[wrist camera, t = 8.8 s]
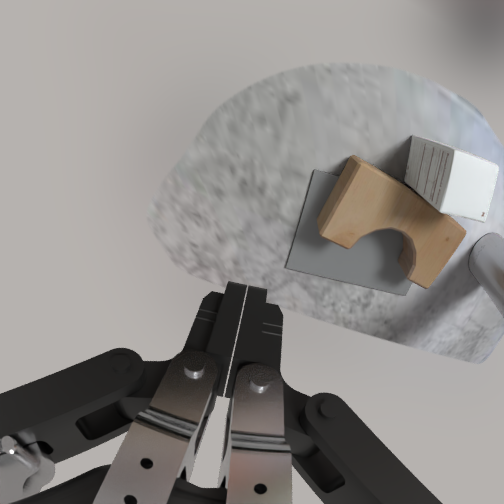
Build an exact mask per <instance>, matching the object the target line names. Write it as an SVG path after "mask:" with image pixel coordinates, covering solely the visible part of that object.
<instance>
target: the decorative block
mask: <svg viewBox="0 0 504 504" xmlns="http://www.w3.org/2000/svg"><path fill="white" fill-rule="evenodd" d="M317 224H318V229H319V234H320V237H322V238H324V239H326V240H328V241H330V242H333V243H335V244H337V245H339V246H341V247H343V248H345V249H351V248H352V247H353V246H354V245H355V244H356V243H357V242H358V241H359V239H360V238H361V237H363V236H365V235H368V234H370V233H372V232H374V231H377V230H384V229H393V230H396V231H399V232H402V235H403V250H402V252H401V254H400V256H399V259H398V262H399V264H400V266H401V268H402V270H403V272H404V274H405V276H406V278H407V279H408V280H409V281H411V282H413V283H415V284H417V285H419V286H421V287H423V288H425V289H427V288H429V286H430V285H431V284H432V282H433V281H434V280H435V278H436V277H437V276H438V274H439V273H440V272H441V270H442V269H443V267H444V266H445V265H446V263H447V262H448V260H449V259H450V258H451V256H452V255H453V253H454V252H455V250H456V249H457V247H458V246H459V244H460V243H461V241H462V240H463V238H464V237H465V235H466V230H465V229H464V228H463V227H462V226H460V225H459V224H458V223H457V222H456V221H455V220H454V219H453V218H452V217H450V216H449V215H447V214H445V213H441V212H439V211H438V210H437V209H436V208H435V207H433V206H432V205H431V204H430V203H429V202H428V201H427V200H425V199H424V198H423V197H422V196H421V195H419V194H418V193H416V192H415V191H413V190H412V189H410V188H408V187H407V186H405V185H404V184H402V183H401V182H399V181H397V180H396V179H394V178H393V177H391V176H389V175H388V174H386V173H384V172H383V171H381V170H379V169H378V168H376V167H374V166H373V165H371V164H369V163H367V162H366V161H364V160H362V159H360V158H359V157H357V156H355V155H352V156H350V158H349V160H348V162H347V164H346V165H345V167H344V169H343V171H342V173H341V175H340V177H339V179H338V181H337V182H336V184H335V186H334V188H333V190H332V192H331V194H330V196H329V197H328V199H327V201H326V203H325V205H324V207H323V208H322V210H321V212H320V214H319V216H318V217H317Z"/></svg>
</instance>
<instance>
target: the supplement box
mask: <svg viewBox="0 0 504 504" xmlns="http://www.w3.org/2000/svg"><path fill="white" fill-rule="evenodd" d="M498 170H499V166H498V165H496V164H494V163H492V162H490V161H488V160H486V159H484V158H481V157H479V156H477V155H474V154H472V153H469V152H467V151H464V150H461V149H459V148H456V147H453V146H450V145H447V144H444V143H440V142H437V141H434V140H430V139H426V138H423V137H419V136H415V135H412V140H411V146H410V152H409V158H408V163H407V168H406V174H405V179H404V182H405V183H406V184H407V185H409V186H410V187H411V188H413V189H414V190H415V191H416V192H417V193H418V194H420V195H421V196H422V197H423V198H424V199H425V200H427V201H428V202H429V203H430V204H431V205H432V206H433V207H435V208H436V209H437V210H438V211H439V212H441V213H445V214H449V215H454V216H458V217H462V218H466V219H471V220H475V221H479V222H483V223H484V222H485V220H486V217H487V214H488V210H489V207H490V203H491V200H492V196H493V192H494V188H495V184H496V179H497V175H498Z"/></svg>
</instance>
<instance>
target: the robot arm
mask: <svg viewBox="0 0 504 504" xmlns="http://www.w3.org/2000/svg"><path fill="white" fill-rule="evenodd" d="M469 268H470V271H471V273H472V274H473V275H474V276H475V278H476V279H477V280H478V282H479V283H480V284H481V286H482V287H483V289H484V290H485V291H486V293H487V294H488V295H489V297H490V298H491V299H492V301H493V302H494V304H495V305H496V307H497V308H498V310H499V311H500V312H501V314H502V315H503V317H504V238H503V237H501V236H500V235H499V234H497V233H489V234H487V235H485V236H483V237H482V238H481V239H480V240H479V241H478V242H477V243H476V245H475V246H474V248H473V250H472V252H471V255H470V259H469ZM246 288H247V285H244V284H239V283H235V282H230V281H228V284H227V287H226V290H225V293H224V294H223V293H218V292H213V291H212V292H210V293H209V294H208V295H207V296H206V297H205V298H203V300H202V303H201V305H200V308H199V310H198V313H197V315H196V318H195V320H194V323H193V326H192V328H191V331H190V333H189V336H188V338H187V341H186V343H185V346H184V348H183V350H182V351H181V352H180V353H178V354H177V355H176V356H175V357H174V358H172V359H170V360H166V361H143V360H142V358H141V357H140V356H139V354H137V353H136V352H134V351H133V350H130V349H127V348H116V349H112V350H110V351H107V352H105V353H103V354H100V355H98V356H96V357H93V358H91V359H88V360H86V361H83V362H81V363H78V364H76V365H74V366H71V367H69V368H66V369H64V370H61V371H59V372H56V373H54V374H51V375H48V376H46V377H44V378H41V379H38V380H36V381H33V382H30V383H28V384H25V385H23V386H20V387H17V388H15V389H12V390H9V391H7V392H4V393H1V394H0V504H292V465H293V467H294V468H295V469H296V470H297V472H298V473H299V474H300V475H301V477H302V478H303V479H304V480H305V481H306V483H307V484H308V485H309V486H310V487H311V489H312V490H313V491H314V492H315V494H316V495H317V496H318V497H319V498H320V499H321V501H322V502H323V503H324V504H442V503H441V502H440V501H439V500H438V499H437V498H436V497H435V496H434V495H433V494H432V493H431V492H430V491H429V490H428V489H427V488H426V487H425V486H424V485H423V484H422V483H421V482H420V481H419V480H418V479H417V478H416V477H415V476H414V475H413V474H412V473H411V472H410V471H409V470H408V469H407V468H406V467H405V466H404V465H403V464H402V463H401V461H400V460H399V459H398V458H397V457H396V456H395V455H394V454H393V453H392V452H391V451H390V450H389V449H388V448H387V447H386V446H385V445H384V444H383V443H382V442H381V441H380V439H379V438H377V436H376V435H375V434H374V433H373V432H372V431H371V430H370V429H369V428H368V427H367V426H366V425H365V423H364V422H363V421H362V420H361V419H360V418H359V417H358V416H357V415H356V414H355V413H354V412H353V410H352V409H351V408H350V407H349V406H348V405H347V404H346V403H345V402H344V401H343V400H342V399H341V398H339V397H338V396H336V395H334V394H331V393H318V394H316V395H313V396H312V397H310V396H307V395H305V394H302V393H300V392H298V391H296V390H294V389H293V388H291V387H290V386H289V385H287V383H285V381H284V379H283V378H282V376H281V372H280V362H281V346H282V326H283V314H282V312H281V310H280V308H279V306H278V305H275V304H270V303H266V297H267V289H263V288H259V287H254V286H248V291H247V296H246V300H245V305H244V310H243V315H242V319H241V324H240V329H239V333H238V338H237V342H236V347H235V351H234V356H233V361H232V366H231V370H230V374H229V379H228V384H227V388H226V393H225V397H227V398H230V402H229V408H228V412H227V416H226V424H225V431H224V441H223V449H222V450H223V451H222V458H221V466H220V472H219V478H218V486H217V488H200V487H198V486H196V485H193V484H191V483H189V480H190V477H191V474H192V471H193V467H194V463H195V459H196V456H197V453H198V450H199V447H200V444H201V442H202V439H203V436H204V433H205V430H206V427H207V424H208V421H209V418H210V415H211V412H212V411H213V409H214V405H215V401H216V397H217V396H222V397H223V393H224V388H225V384H226V379H227V375H228V371H229V366H230V362H231V357H232V352H233V348H234V344H235V339H236V334H237V330H238V325H239V321H240V316H241V312H242V307H243V302H244V297H245V293H246ZM127 431H128V432H127ZM125 432H127V434H126V436H125V439H124V440H123V442H122V445H121V446H120V448H119V450H118V452H117V454H116V457H115V458H114V460H113V462H112V464H110V465H104V466H100V467H97V468H94V469H92V470H90V471H88V472H86V473H83V474H81V475H79V476H77V477H75V478H73V479H70V480H68V481H66V482H64V483H61V484H59V485H57V486H55V487H52V488H50V489H47V490H45V491H42V492H40V490H41V488H42V487H43V486H44V485H46V484H48V483H49V482H50V481H51V480H52V479H53V477H54V474H55V465H54V464H55V463H58V462H60V461H63V460H65V459H68V458H70V457H73V456H75V455H78V454H80V453H82V452H84V451H87V450H89V449H91V448H93V447H96V446H98V445H100V444H102V443H104V442H107V441H109V440H110V439H113V438H115V437H117V436H119V435H121V434H123V433H125ZM39 492H40V493H39Z"/></svg>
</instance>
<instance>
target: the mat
mask: <svg viewBox="0 0 504 504" xmlns="http://www.w3.org/2000/svg"><path fill="white" fill-rule="evenodd" d="M338 179H339V176H336V175H333V174H329V173H326V172H322V171H318V170H315V169H314V173H313V176H312V180H311V184H310V187H309V191H308V194H307V198H306V201H305V205H304V208H303V212H302V215H301V219H300V222H299V225H298V229H297V232H296V235H295V239H294V242H293V245H292V249H291V252H290V255H289V259H288V262H287V265H286V268H288V269H292V270H296V271H301V272H305V273H309V274H313V275H317V276H322V277H326V278H330V279H334V280H339V281H343V282H347V283H352V284H356V285H360V286H364V287H369V288H373V289H377V290H382V291H386V292H390V293H395V294H399V295H403V296H405V295H406V294H407V292H408V290H409V288H410V286H411V284H412V283H413V282H411V281H409V280H408V279H407V278H406V276H405V274H404V272H403V270H402V268H401V266H400V264H399V262H398V259H399V256H400V254H401V252H402V250H403V235H402V232H399V231H396V230H393V229H384V230H377V231H374V232H372V233H370V234H368V235H365V236H363V237H361V238H360V239H359V241H358V242H357V243H356V244H355V245H354V246H353V247H352V248H351V249H345V248H343V247H341V246H339V245H337V244H335V243H333V242H330V241H328V240H326V239H324V238H322V237H320V234H319V229H318V224H317V217H318V216H319V214H320V212H321V210H322V208H323V207H324V205H325V203H326V201H327V199H328V197H329V196H330V194H331V192H332V190H333V188H334V186H335V184H336V182H337V181H338Z"/></svg>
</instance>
